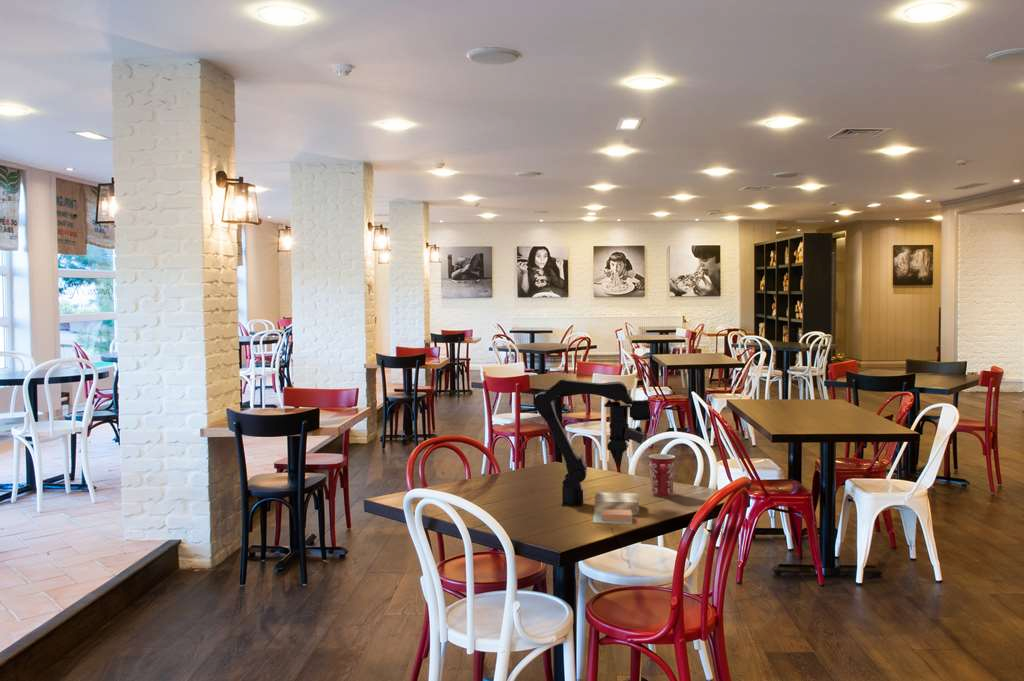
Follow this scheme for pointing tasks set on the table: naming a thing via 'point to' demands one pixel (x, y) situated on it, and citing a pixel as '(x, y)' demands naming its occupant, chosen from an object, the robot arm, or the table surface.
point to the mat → (598, 519)
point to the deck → (617, 502)
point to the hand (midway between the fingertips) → (618, 467)
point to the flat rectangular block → (616, 515)
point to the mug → (662, 474)
